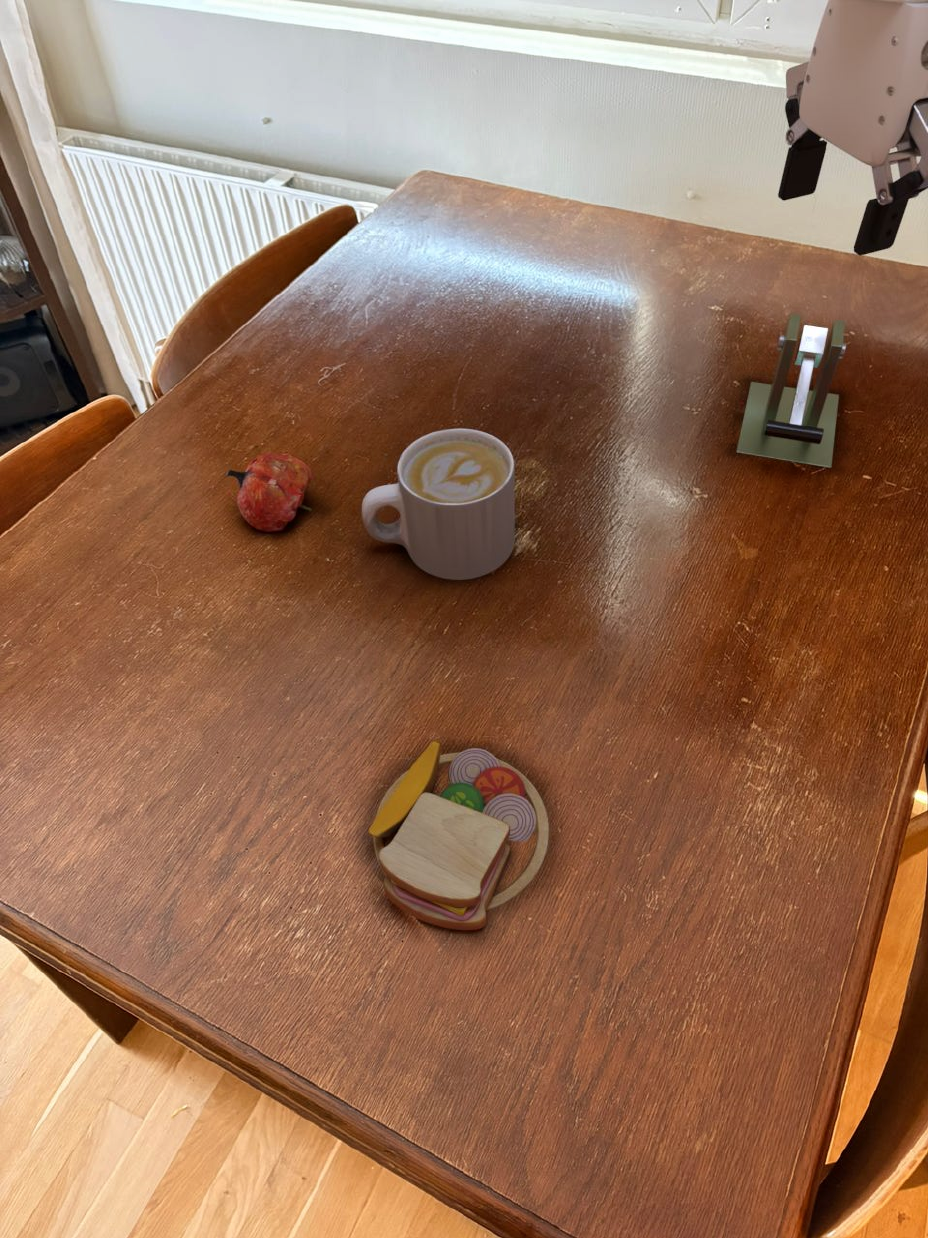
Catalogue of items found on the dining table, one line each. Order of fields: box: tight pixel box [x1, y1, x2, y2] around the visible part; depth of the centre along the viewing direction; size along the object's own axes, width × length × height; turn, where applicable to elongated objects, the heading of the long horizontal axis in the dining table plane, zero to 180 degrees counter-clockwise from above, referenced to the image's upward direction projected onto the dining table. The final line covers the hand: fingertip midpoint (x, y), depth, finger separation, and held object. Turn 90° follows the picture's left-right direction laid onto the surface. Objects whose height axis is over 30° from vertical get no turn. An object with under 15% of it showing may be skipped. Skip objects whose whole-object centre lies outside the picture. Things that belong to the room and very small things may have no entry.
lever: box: [764, 324, 829, 444], centre depth 83 cm, size 11×5×2 cm, turn 162°
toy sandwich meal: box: [368, 740, 550, 931], centre depth 63 cm, size 12×14×5 cm
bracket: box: [735, 313, 848, 469], centre depth 87 cm, size 12×9×12 cm
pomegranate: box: [224, 453, 313, 533], centre depth 84 cm, size 7×7×10 cm
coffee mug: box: [361, 427, 516, 581], centre depth 80 cm, size 13×10×10 cm
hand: (832, 221), depth 70 cm, fingers open, 9 cm apart
